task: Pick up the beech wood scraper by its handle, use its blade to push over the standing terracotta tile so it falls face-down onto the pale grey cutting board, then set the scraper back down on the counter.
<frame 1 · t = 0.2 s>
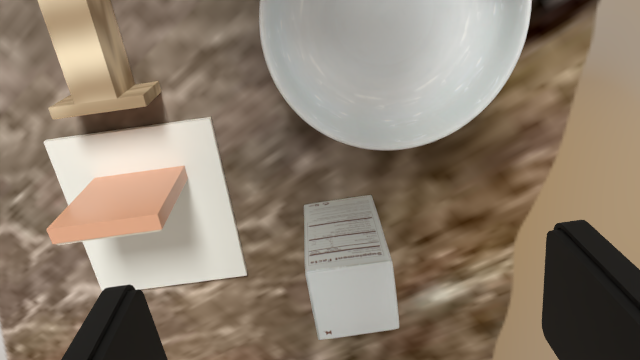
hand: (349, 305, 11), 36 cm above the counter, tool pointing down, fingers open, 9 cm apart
scraper: (109, 65, 44), on the counter
tile: (141, 178, 48), point 1 cm above the counter, touching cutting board
supplement box: (341, 226, 52), on the counter
serving bowl: (382, 14, 44), on the counter
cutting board: (154, 210, 50), on the counter
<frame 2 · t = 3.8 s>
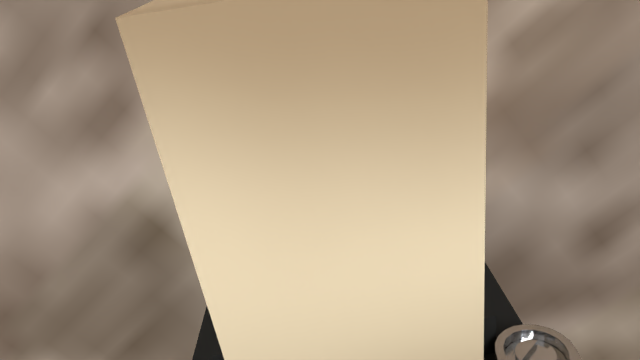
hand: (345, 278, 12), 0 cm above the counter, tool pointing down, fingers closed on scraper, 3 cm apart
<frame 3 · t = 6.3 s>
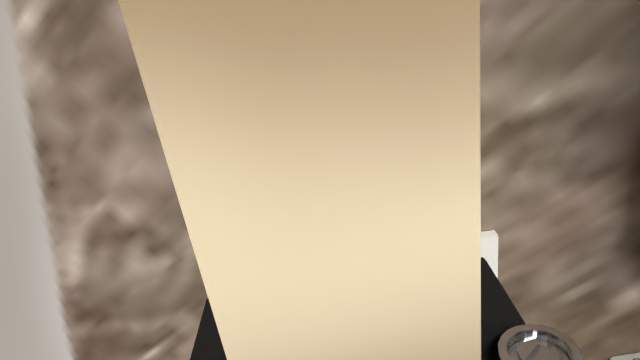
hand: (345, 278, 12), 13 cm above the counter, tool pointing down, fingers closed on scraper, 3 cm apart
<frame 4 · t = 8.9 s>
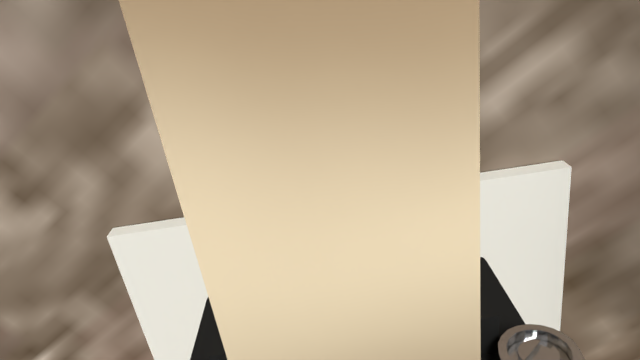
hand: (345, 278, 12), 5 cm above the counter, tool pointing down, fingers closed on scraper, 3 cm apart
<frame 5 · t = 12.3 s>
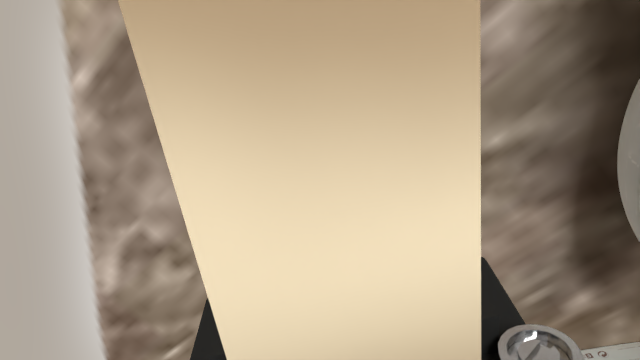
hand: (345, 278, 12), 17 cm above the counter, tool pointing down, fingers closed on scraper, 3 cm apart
when the fingers open (2 cm above the counter, at t = 15.4 s): scraper drops 2 cm, on the counter.
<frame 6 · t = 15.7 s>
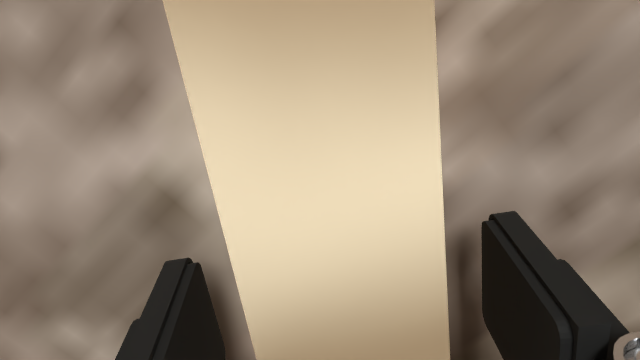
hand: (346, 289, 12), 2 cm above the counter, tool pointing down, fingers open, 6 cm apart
scraper: (356, 357, 16), on the counter
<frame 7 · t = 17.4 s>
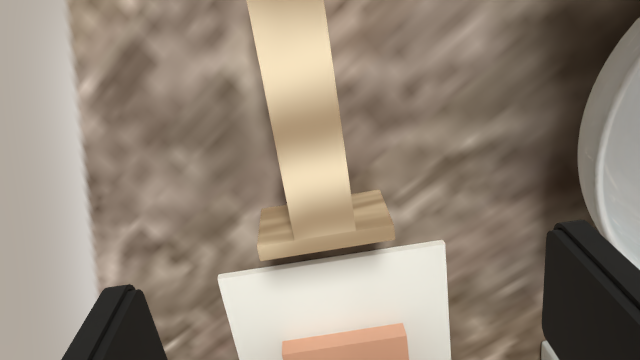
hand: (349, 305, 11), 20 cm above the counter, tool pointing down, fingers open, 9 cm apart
scraper: (315, 171, 32), on the counter
tile: (343, 338, 35), point 2 cm above the counter, tilted 90°, touching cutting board
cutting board: (346, 355, 38), on the counter
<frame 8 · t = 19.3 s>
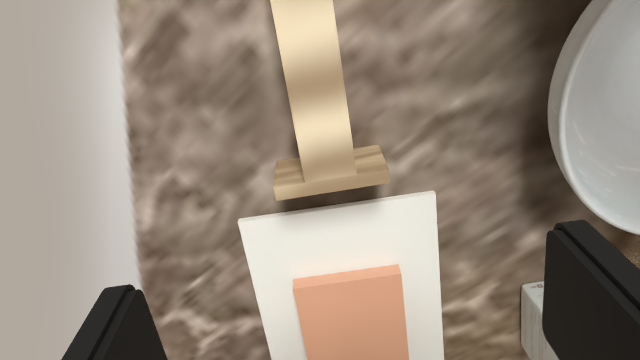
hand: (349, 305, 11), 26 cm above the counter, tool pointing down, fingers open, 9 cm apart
scraper: (323, 128, 37), on the counter
tile: (346, 276, 41), point 2 cm above the counter, tilted 90°, touching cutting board
supplement box: (558, 306, 45), on the counter
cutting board: (348, 293, 43), on the counter
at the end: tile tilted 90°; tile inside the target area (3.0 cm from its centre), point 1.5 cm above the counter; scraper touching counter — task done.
